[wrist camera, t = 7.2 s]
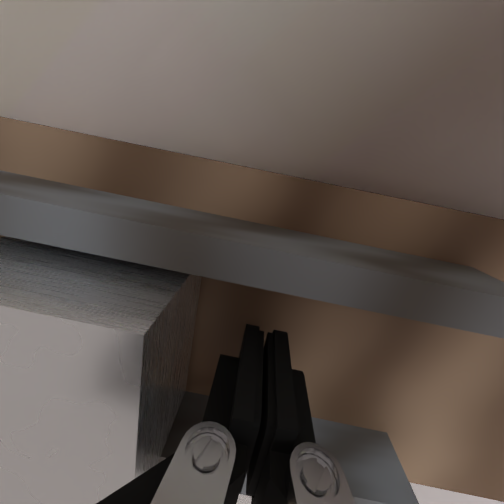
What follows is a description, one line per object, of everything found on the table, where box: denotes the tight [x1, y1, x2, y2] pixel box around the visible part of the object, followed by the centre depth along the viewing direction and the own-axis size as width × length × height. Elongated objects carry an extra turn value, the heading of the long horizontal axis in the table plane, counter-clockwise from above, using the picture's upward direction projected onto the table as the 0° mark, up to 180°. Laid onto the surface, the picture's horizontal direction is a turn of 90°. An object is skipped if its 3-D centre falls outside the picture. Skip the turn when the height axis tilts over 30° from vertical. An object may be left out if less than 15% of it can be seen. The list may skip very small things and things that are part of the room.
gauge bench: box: [0, 117, 504, 504], centre depth 9 cm, size 33×14×8 cm, turn 79°
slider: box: [0, 236, 202, 504], centre depth 9 cm, size 9×10×5 cm
